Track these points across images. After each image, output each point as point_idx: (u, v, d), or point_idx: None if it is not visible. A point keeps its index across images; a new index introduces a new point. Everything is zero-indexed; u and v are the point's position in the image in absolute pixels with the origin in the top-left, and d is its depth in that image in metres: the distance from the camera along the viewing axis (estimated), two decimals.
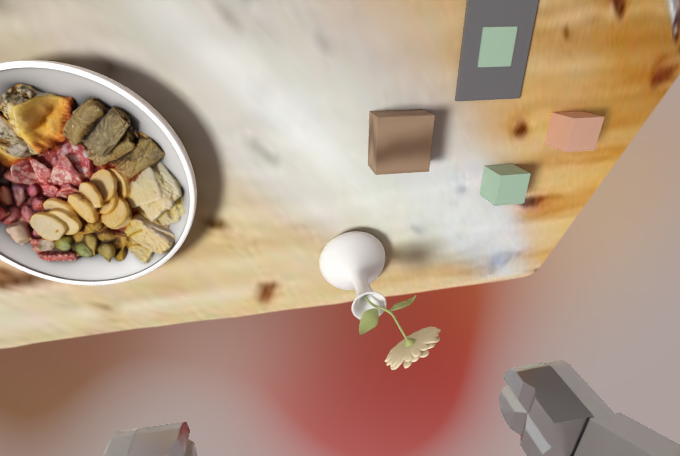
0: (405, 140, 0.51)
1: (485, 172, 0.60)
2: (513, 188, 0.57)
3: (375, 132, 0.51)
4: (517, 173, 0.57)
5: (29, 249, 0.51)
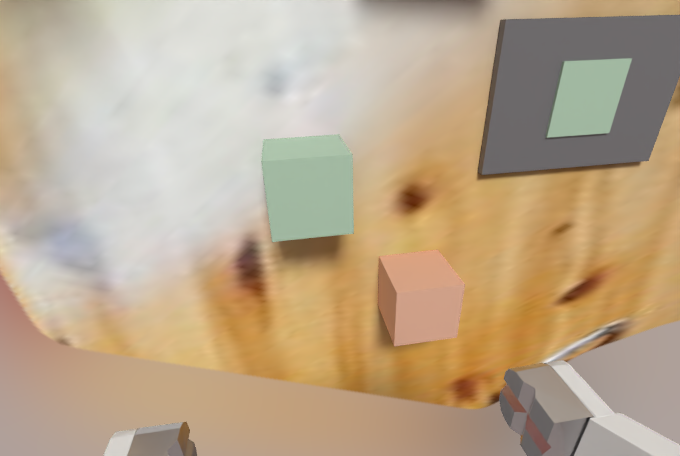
0: None
1: (324, 137, 0.24)
2: (314, 201, 0.21)
3: None
4: (352, 201, 0.22)
5: None
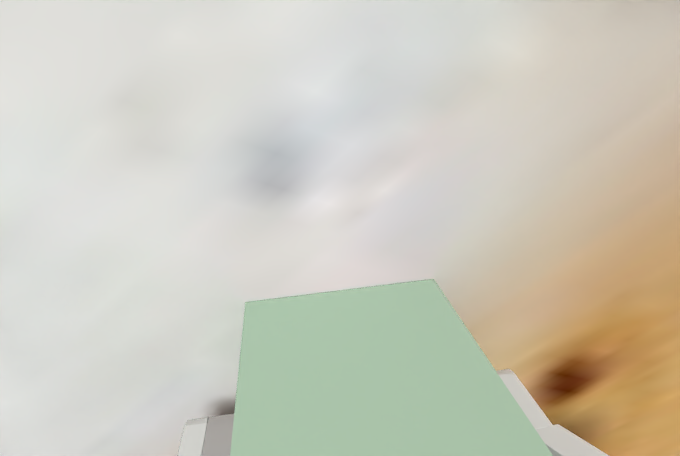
0: None
1: (404, 297, 0.09)
2: None
3: None
4: None
5: None
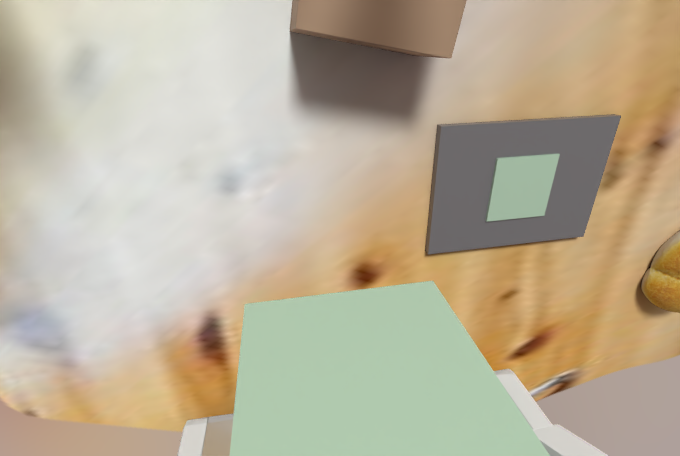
0: None
1: (403, 299, 0.09)
2: None
3: None
4: None
5: None
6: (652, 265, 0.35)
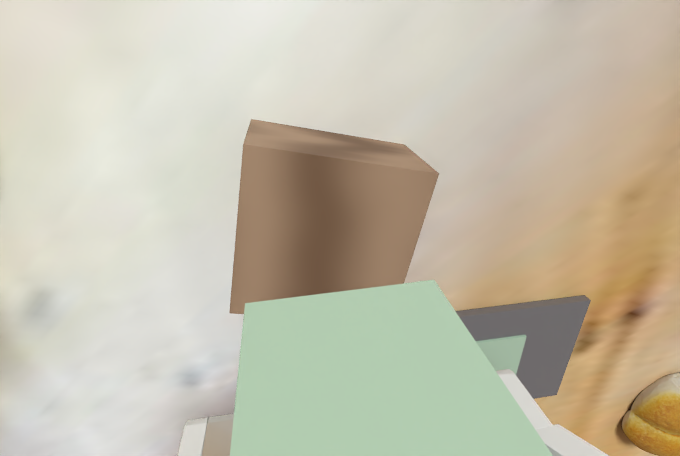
0: (343, 250, 0.17)
1: (405, 298, 0.09)
2: None
3: (382, 159, 0.16)
4: None
5: None
6: (632, 409, 0.34)
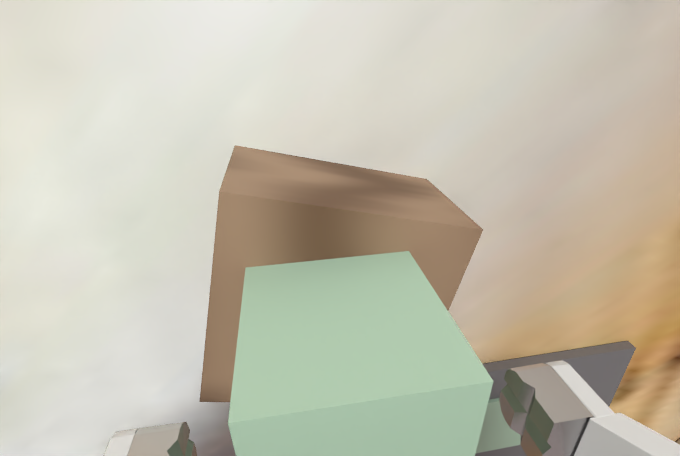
0: None
1: (382, 264, 0.11)
2: None
3: (408, 207, 0.12)
4: None
5: None
6: None
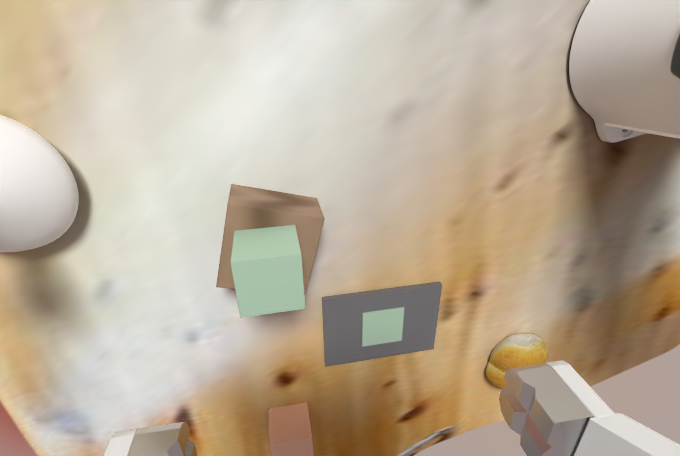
0: None
1: (283, 229, 0.31)
2: (272, 287, 0.28)
3: (297, 210, 0.32)
4: (303, 285, 0.28)
5: None
6: (489, 360, 0.51)
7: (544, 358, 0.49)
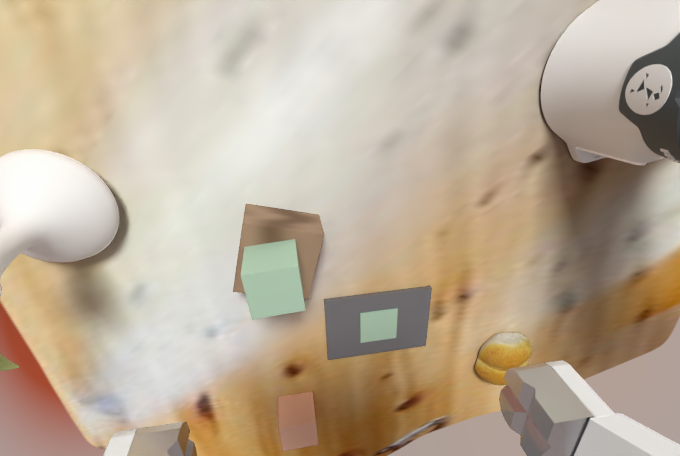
0: None
1: (285, 243, 0.36)
2: (276, 294, 0.33)
3: (301, 227, 0.37)
4: (302, 291, 0.34)
5: None
6: (478, 356, 0.56)
7: (528, 355, 0.53)
